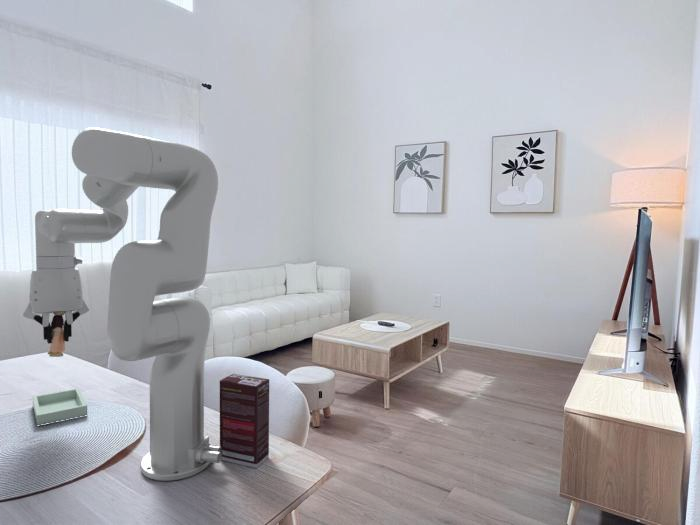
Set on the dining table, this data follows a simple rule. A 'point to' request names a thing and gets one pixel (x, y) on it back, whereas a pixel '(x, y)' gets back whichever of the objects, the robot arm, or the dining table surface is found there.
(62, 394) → the tray
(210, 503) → the dining table surface
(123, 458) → the dining table surface
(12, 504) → the dining table surface
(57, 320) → the grandmother figurine
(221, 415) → the supplement box
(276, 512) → the dining table surface
